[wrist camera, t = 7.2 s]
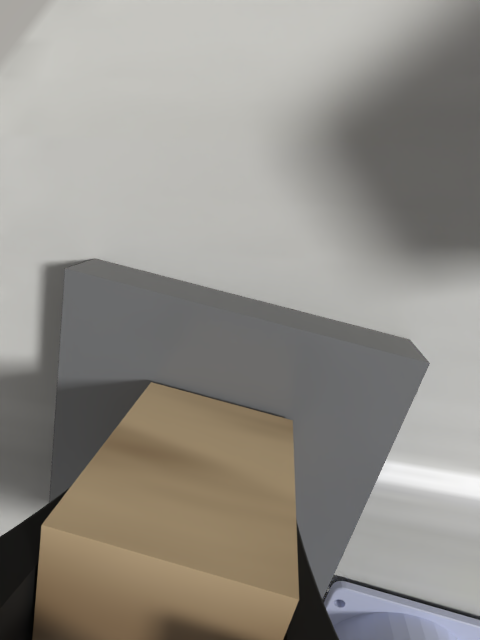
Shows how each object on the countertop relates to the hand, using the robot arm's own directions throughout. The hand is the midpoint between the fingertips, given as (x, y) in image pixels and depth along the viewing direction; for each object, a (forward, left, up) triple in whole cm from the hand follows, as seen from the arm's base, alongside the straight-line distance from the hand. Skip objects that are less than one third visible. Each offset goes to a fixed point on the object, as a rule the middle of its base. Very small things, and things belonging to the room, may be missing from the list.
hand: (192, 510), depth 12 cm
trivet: (0, 0, -4) cm, 4 cm away
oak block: (0, 0, -2) cm, 2 cm away
